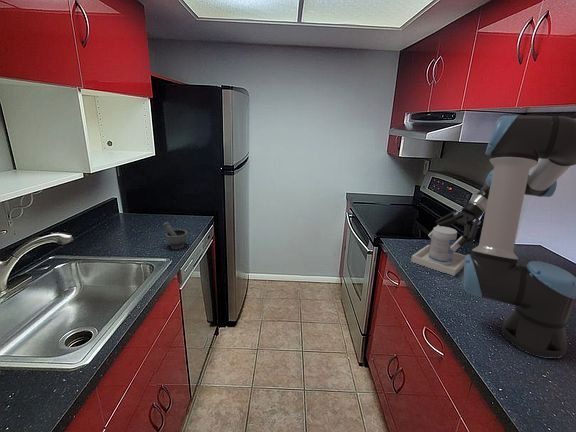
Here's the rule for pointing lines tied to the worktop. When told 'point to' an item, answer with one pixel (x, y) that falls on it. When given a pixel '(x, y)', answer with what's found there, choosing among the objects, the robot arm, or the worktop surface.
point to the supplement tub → (442, 245)
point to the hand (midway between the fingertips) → (440, 243)
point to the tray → (423, 260)
